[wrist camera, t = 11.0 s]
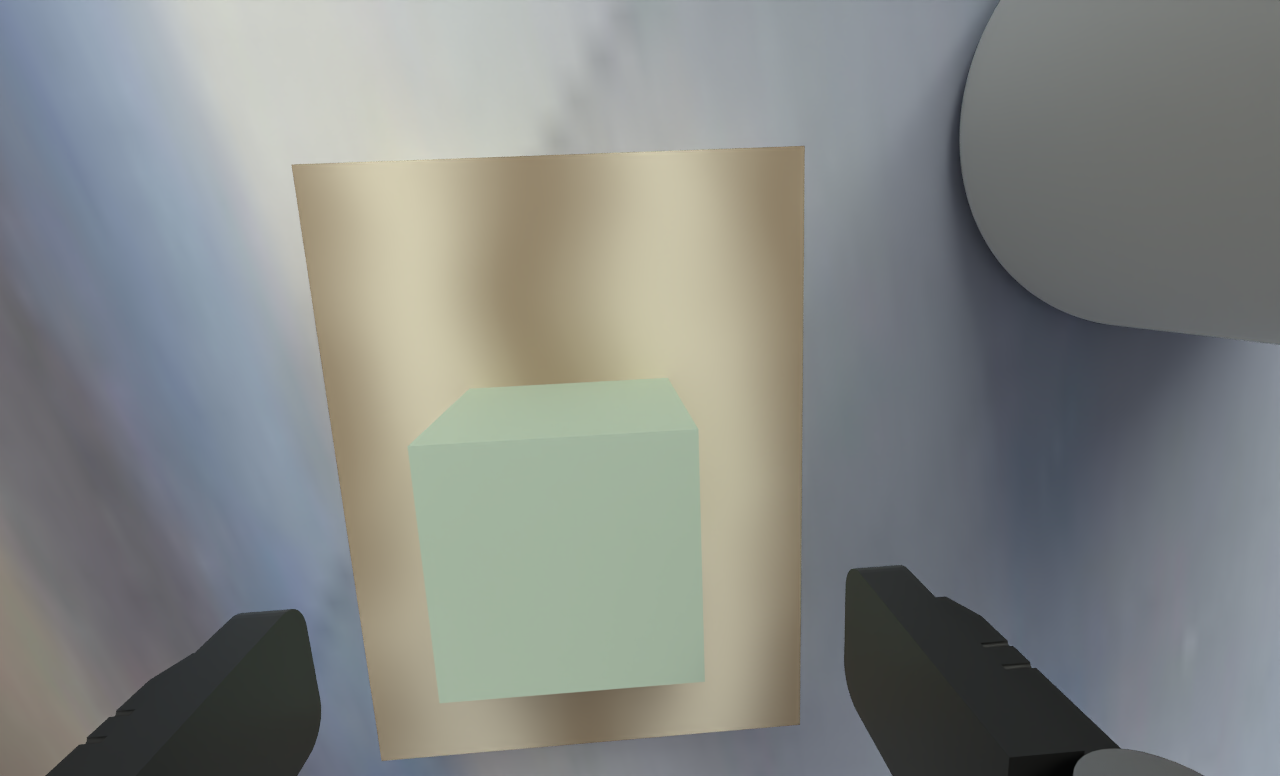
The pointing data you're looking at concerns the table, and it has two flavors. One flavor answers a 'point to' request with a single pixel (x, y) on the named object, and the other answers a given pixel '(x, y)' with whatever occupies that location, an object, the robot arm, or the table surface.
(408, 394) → the base block
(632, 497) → the cube
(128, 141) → the table surface
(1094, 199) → the cylinder vase
